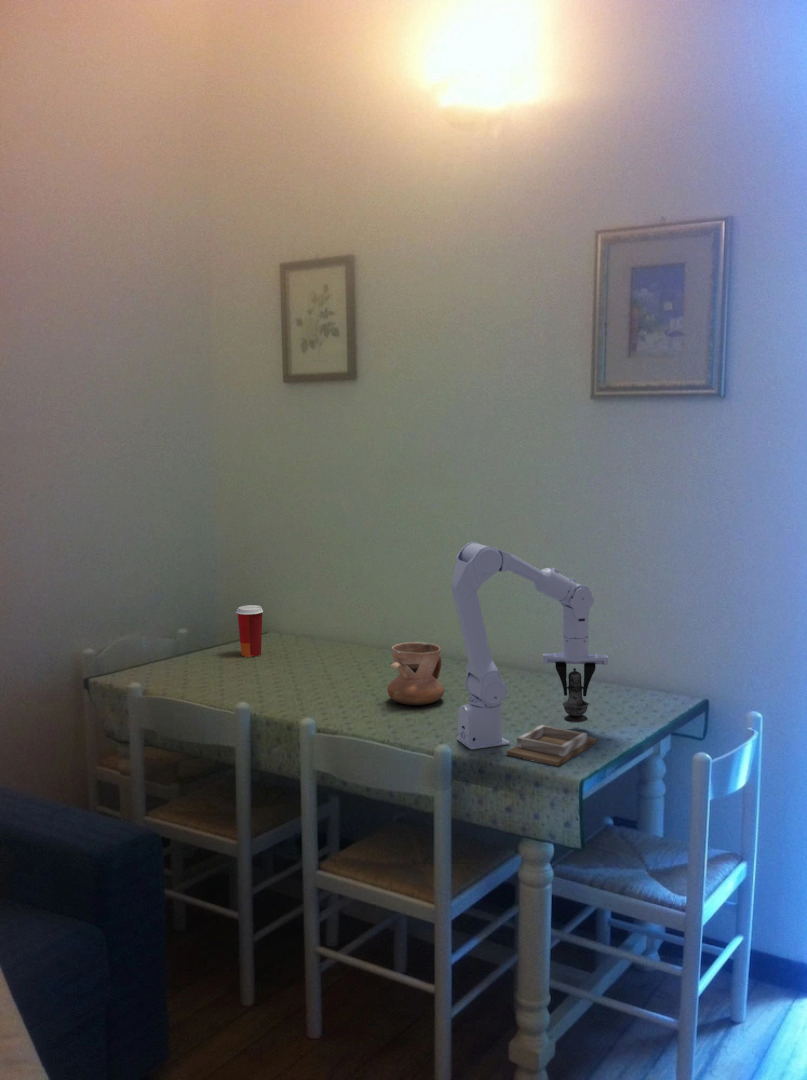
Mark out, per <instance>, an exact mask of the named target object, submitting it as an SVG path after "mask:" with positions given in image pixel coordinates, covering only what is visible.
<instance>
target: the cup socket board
mask: <svg viewBox="0 0 807 1080" xmlns="http://www.w3.org/2000/svg"><path fill="white" fill-rule="evenodd" d="M516 741H517V742H516V744H517V745H516V746H513V747H512V748H510V749H507V751H506V756H507V755H510V756H509V757H511V756H516V757H520V758H525V759H528V760H527V761H529V760H534V761H538V762H542V763H541V764H543V763H546V764H545V765H548V764H551V765H550V766H552V765H555V766H554V767H557V766H558V767H560V766H561V764H562V765H563V764H564V762H565V761H566V762H568V761H569V759H570V760H572V759H573V758H574V757H576V756H577V755H579V754H581V753H582V752H584V751H585V750H587V749H588V748H590V747H591V745H592V746H593V745H595V744H597V738H596V737H591V736H588V733H586V732H581V731H576V730H572V729H566V728H560V727H556V726H555V727H554V726H550V725H546V724H540V725H538V726H536V727H535V728H533V729H531V730H529V731H528V732H526V733H524V734H522V735H520V736H518V737H517V738H516ZM572 757H573V758H572ZM520 758H519V759H520ZM525 759H524V760H525ZM567 760H568V761H567ZM534 761H533V762H534ZM538 762H537V763H538ZM566 762H565V763H566ZM559 765H560V766H559Z"/></svg>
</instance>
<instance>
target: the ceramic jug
mask: <svg viewBox="0 0 807 1080" xmlns="http://www.w3.org/2000/svg"><path fill="white" fill-rule="evenodd" d="M391 653H392V658H393V661H394V662H393V663H392V664H390V666H389V667H390V668H391V669H392V670H397V671H398V673H399V675H398V676H397V677H395V678H394V679H393V680H391V681H389V683H388V686H387V690H386V691H387V693H388V696H389V698H391V700H393V701H395V702H397V703H399V704H403V705H408V706H423V705H425V706H426V705H429V704H433V703H435V702H437V701H439V700H440V699H441V698H442V697H443V696H444V693H445V687H444V685H443V683H442V682H441V681H439V680H438V678H439V677H440V674H441V670H442V661H443V660H442V657H441V655H440V654H441V647H440V646H439V645H438V644H435V643H431V642H423V641H409V642H402V643H397V644H394V645H392V647H391Z"/></svg>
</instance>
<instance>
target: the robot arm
mask: <svg viewBox="0 0 807 1080" xmlns="http://www.w3.org/2000/svg"><path fill="white" fill-rule="evenodd" d="M455 560H456V564H455V568H454V572H453V577H452V580H451V585H450V586H451V592H452V597H453V601H454V605H455V610H456V614H457V619H458V623H459V628H460V631H461V635H462V636H461V637H462V640H463V641H462V642H463V643H464V644H463V645H464V649H465V653H466V658H467V661H468V662H467V664H466V665H465V671H466V675H465V676H466V677H465V681H464V686H465V688H466V691H467V692H468V693H469V694H470V695H469V702H468V703H466V704H464V705H460V706H459V707H458V710H457V736H456V740H457V741H459V742H460V743H461V744H463V745H464V746H466V748H468V749H469V750H478V749H484V748H492V747H499V746H505V745H506V746H507V745H510V744H511V743H510V741H509V740H508V739H506V738H504V737H503V702H504V700H505V699H506V698H507V694H508V688H507V683H506V682H505V681H504V680H503V679H502V678H501V675H500V671H499V669H498V667H497V665H496V664H495V662H494V660H493V657H492V652H491V648H490V643H489V639H488V635H487V630H486V625H485V623H484V617H483V614H482V608H481V604H480V603H481V602H480V600H479V599H480V598H479V595H478V592H479V590H480V588H481V587H482V586H483V584H484V583H485V582H486V581H488V580H489V579H491V578H492V577H493V576H494V575H496V573H498V572H500V573H504V572H507V571H509V572H511V573H513V574H515V575H517V576H519V577H520V578H523V579H525V580H527V581H530V582H531V583H533V585H534V589H535V590H536V591H537V592H539V593H541V594H543V595H544V596H547V597H549V598H550V599H552V600H554V601H556V602H559V604H560V605H561V606H562V652H553V653H543V654H542V664H555V670H556V672H557V674H558V676H559V679H560V682H561V685H562V689H563V696H567V697H568V689H567V687H568V684H567V682H568V681H567V665H568V664H569V665H570V664H573V665H575V664H576V665H577V664H578V665H583V684H582V687H583V689H582V697H587V693H588V689H589V685H590V682H591V680H592V677H593V675H594V673H595V671H596V669H597V668H596V665H603V666H609V655H607V654H597V653H589V629H590V628H589V627H590V626H589V622H590V619H589V618H590V617H589V616H590V610H591V608H592V606H594V603H595V602H594V601H595V596H593V592H592V591H591V588H589V587H588V586H586V585H584V584H580V583H577V582H576V581H577V580H576V579H575V578H574V577H567V576H565V575H563V574H562V573H560V570H559V569H557V568H556V567H551V568H550V567H546V568H545V567H544V568H543V569H539V568H538V567H535V566H534V565H531V564H530V563H528V562H527V561H525V560H523V559H521V558H520V557H518V556H517V555H514V554H513V553H511V552H507V551H504V550H502V549H499V548H496V547H493V546H488V545H484V544H481V543H479V542H477V541H471V542H468V543H466V544H465V545H463V547H462V548H461V549H460V551H459V552H458V553H457V554H456V555H455Z"/></svg>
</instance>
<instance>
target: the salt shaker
mask: <svg viewBox="0 0 807 1080" xmlns="http://www.w3.org/2000/svg"><path fill="white" fill-rule="evenodd" d="M572 670H573V671H571V672H568V673H569V674H568V685H567V691H568V696H567V697H568V698H567V700H565V701H564V702H562V706H563V709H564V712H565V713H566V714H568V715H566V716H565V717H564V721H566V722H568V723H584V722H586V721H588V719H589V718H588V717H587V716H585V713H587V711H588V707H589V705H590V704H589V702H588V701H586V700H584V698H583V684H582V673H581V672H579V671H577V668H576V667H574V668H573V669H572Z"/></svg>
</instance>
